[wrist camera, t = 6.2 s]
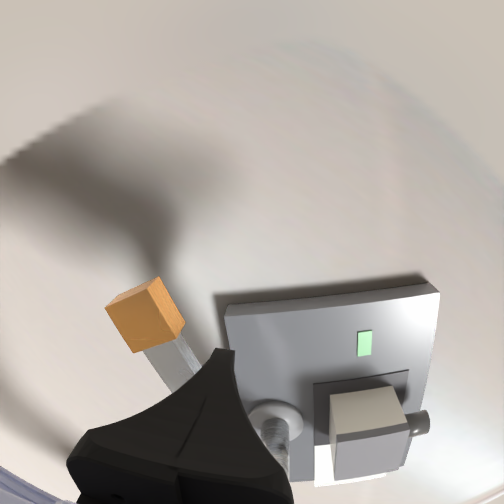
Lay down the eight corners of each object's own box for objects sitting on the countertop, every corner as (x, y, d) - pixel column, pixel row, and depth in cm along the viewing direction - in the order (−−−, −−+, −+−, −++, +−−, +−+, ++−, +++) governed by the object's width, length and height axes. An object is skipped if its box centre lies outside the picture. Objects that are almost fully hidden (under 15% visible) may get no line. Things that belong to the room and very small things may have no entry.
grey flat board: (261, 475, 23) (259, 494, 21) (228, 304, 18) (221, 322, 16) (397, 459, 22) (402, 477, 20) (429, 282, 17) (444, 296, 15)
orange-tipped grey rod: (295, 432, 18) (296, 500, 13) (266, 440, 19) (261, 506, 14) (189, 245, 15) (146, 288, 10) (155, 261, 16) (104, 307, 11)
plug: (329, 435, 19) (334, 480, 15) (329, 394, 18) (337, 442, 14) (411, 421, 18) (427, 462, 14) (421, 379, 17) (442, 421, 13)
